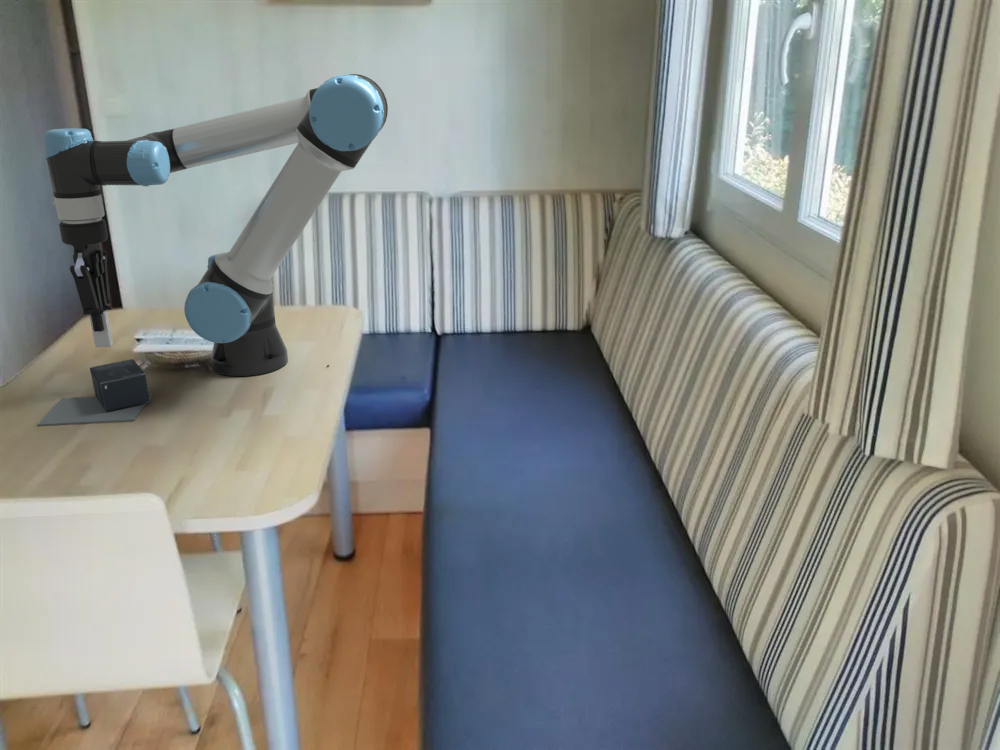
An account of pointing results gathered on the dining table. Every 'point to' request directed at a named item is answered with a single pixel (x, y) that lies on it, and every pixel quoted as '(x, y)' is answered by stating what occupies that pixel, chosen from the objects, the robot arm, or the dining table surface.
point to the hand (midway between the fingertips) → (104, 345)
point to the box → (120, 385)
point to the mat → (87, 412)
